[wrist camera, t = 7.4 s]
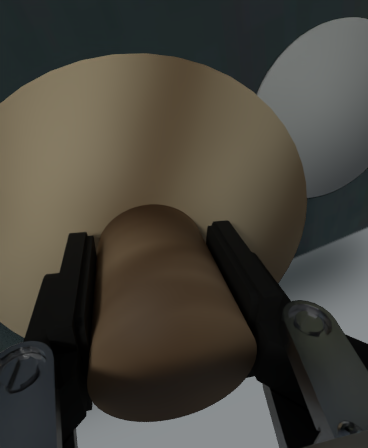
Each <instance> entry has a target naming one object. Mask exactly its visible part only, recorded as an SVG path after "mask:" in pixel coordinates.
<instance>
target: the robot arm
mask: <svg viewBox="0 0 368 448" xmlns="http://www.w3.org/2000/svg"><path fill="white" fill-rule="evenodd" d="M206 245H207V247H208V249H209V251H210V253H211V254H212V256H213V258H214V260H215V262H216V264H217V266H218V268H219V270H220V272H221V274H222V276H223V278H224V280H225V282H226V284H227V286H228V288H229V290H230V291H231V293H232V295H233V297H234V299H235V301H236V303H237V305H238V307H239V309H240V311H241V313H242V315H243V317H244V319H245V321H246V323H247V325H248V327H249V328H250V330H251V332H252V334H253V336H254V338H255V341H256V345H257V355H256V360H255V363H254V365H253V367H252V369H251V371H250V373H249V374H248V376H247V377H246V378H248V377H253V376H255V377H256V379H257V380H258V381H259V382H261V383H263V389H264V393H265V397H266V400H267V404H268V408H269V411H270V415H271V418H272V422H273V426H274V429H275V433H276V437H277V440H278V444H279V448H368V344H366V343H364V342H362V341H359V340H357V339H355V338H352V337H350V336H348V335H345V334H344V333H343V331H342V329H341V328H340V326H339V325H338V323H337V321H336V320H335V318H334V317H333V316H332V315H331V314H330V313H329V312H328V311H327V310H325V309H324V308H323V307H321V306H319V305H317V304H315V303H312V302H309V301H302V300H297V301H292V302H291V301H290V299H289V298H288V296H287V295H286V294H285V293H284V291H283V290H282V289H281V287H280V286H279V284H278V283H277V282H276V280H275V279H274V278H273V276H272V275H271V274H270V272H269V271H268V270H267V268H266V267H265V266H264V264H263V263H262V261H261V260H260V259H259V257H258V256H257V255H256V254H255V253H254V252H251V251H250V249H249V248H248V246H247V245H246V244H245V242H244V241H243V240H242V238H241V237H240V235H239V234H238V233H237V231H236V230H235V229H234V227H233V226H232V224H231V223H230V222H229V221H228V220H225V221H214V222H213V223H212V225H211V226H208V227H207V236H206ZM96 260H97V254H96V248H95V241H94V236H93V235H92V236H88V234H87V232H78V233H69V235H68V239H67V243H66V247H65V251H64V255H63V260H62V264H61V268H60V272H59V273H53V274H46V275H45V276H44V278H43V281H42V284H41V287H40V290H39V293H38V297H37V300H36V303H35V306H34V309H33V313H32V316H31V319H30V322H29V325H28V329H27V332H26V335H25V338H24V341H23V342H21V343H18V344H16V345H13V346H11V347H9V348H7V349H5V350H4V351H2V352H1V353H0V448H78V446H77V436H76V427H77V426H78V425H79V424H80V423H81V421H82V420H83V419H84V418H85V417H86V411H88V410H92V400H91V398H90V396H89V393H88V390H87V376H88V363H89V353H90V340H91V326H92V313H93V300H94V286H95V273H96Z"/></svg>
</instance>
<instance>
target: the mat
mask: <svg viewBox="0 0 368 448" xmlns="http://www.w3.org/2000/svg"><path fill="white" fill-rule="evenodd" d="M256 95H257V96H258V97H259V98H260V99H261V100H263V101H264V102H265V103H266V104H267V105H268V106H269V107H270V108H271V109H272V110H273V112H274V113H275V114H276V115H277V117H278V118H279V119H280V120H281V122H282V123H283V124H284V126H285V127H286V129H287V131H288V133H289V134H290V136H291V138H292V140H293V142H294V143H295V145H296V148H297V151H298V154H299V156H300V159H301V162H302V165H303V170H304V175H305V180H306V191H307V198H311V197H318V196H321V195H325V194H328V193H331V192H333V191H335V190H337V189H339V188H341V187H343V186H345V185H346V184H348V183H350V182H351V181H352V180H354V179H355V178H356V177H358V176H359V175H360V174H361V173H362V172H364V171H365V170H366V169H367V168H368V19H364V18H358V17H354V18H342V19H336V20H331V21H329V22H326V23H323V24H320V25H318V26H316V27H314V28H313V29H311V30H309V31H307V32H306V33H304V34H303V35H301V36H300V37H299V38H297V39H296V40H295V41H294V42H293V43H292V44H290V45H289V46H288V47H287V48H286V49H285V50H284V51H283V52H282V54H281V55H280V56H279V57H278V58H277V59H276V61H275V62H274V63H273V65H272V66H271V68H270V69H269V70H268V72H267V74H266V76H265V77H264V79H263V81H262V83H261V85H260V87H259V89H258V92H257V94H256Z"/></svg>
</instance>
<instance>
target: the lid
mask: <svg viewBox="0 0 368 448" xmlns="http://www.w3.org/2000/svg"><path fill="white" fill-rule="evenodd" d="M306 207H307V191H306V180H305V175H304V170H303V165H302V162H301V159H300V156H299V154H298V151H297V148H296V145H295V143H294V142H293V140H292V138H291V136H290V134H289V133H288V131H287V129H286V127H285V126H284V124H283V123H282V122H281V120H280V119H279V118H278V117H277V115H276V114H275V113H274V112H273V110H272V109H271V108H270V107H269V106H268V105H267V104H266V103H265V102H264V101H263V100H261V99H260V98H259V97H258V96H257V95H256V94H255V93H254V92H253V91H251V90H250V89H248V88H247V87H245V86H244V85H242V84H241V83H239V82H238V81H236V80H235V79H233V78H232V77H230V76H228V75H226V74H223V73H221V72H219V71H217V70H215V69H212V68H210V67H208V66H206V65H203V64H199V63H196V62H192V61H188V60H185V59H181V58H178V57H171V56H163V55H154V54H146V53H144V54H113V55H108V56H102V57H97V58H92V59H86V60H81V61H78V62H75V63H73V64H70V65H67V66H64V67H61V68H58V69H55V70H53V71H50V72H48V73H46V74H44V75H43V76H41V77H39V78H37V79H35V80H33V81H31V82H30V83H28V84H26V85H24V86H22V87H21V88H20V89H18V90H17V91H16V92H14V93H13V94H12V95H11V96H9V97H8V98H7V99H5V100H4V101H3V102H2V103H0V322H1V323H2V324H4V325H5V326H6V327H8V328H9V329H10V330H12V331H13V332H15V333H17V334H19V335H20V336H22V337H24V338H25V335H26V332H27V329H28V325H29V322H30V319H31V316H32V313H33V309H34V306H35V303H36V300H37V297H38V293H39V290H40V287H41V284H42V281H43V278H44V276H45V275H46V274H53V273H59V272H60V268H61V264H62V260H63V255H64V251H65V247H66V243H67V239H68V235H69V233H78V232H87V234H88V236H92V235H93V236H94V241H95V248H96V254H97V260H96V273H95V286H94V300H93V313H92V326H91V340H90V353H89V363H88V376H87V390H88V393H89V396H90V398H91V400H92V401H93V403H94V404H95V405H96V406H97V407H98V408H99V409H100V410H102V411H103V412H105V413H107V414H109V415H111V416H113V417H116V418H119V419H124V420H128V421H137V422H154V421H163V420H170V419H175V418H179V417H182V416H186V415H189V414H192V413H195V412H198V411H200V410H203V409H205V408H207V407H209V406H211V405H213V404H215V403H216V402H218V401H220V400H221V399H223V398H224V397H226V396H227V395H228V394H230V393H231V392H232V391H234V390H235V389H236V388H237V387H238V386H239V385H240V384H241V383H242V382H243V380H245V378H246V377H247V376H248V374H249V373H250V371H251V369H252V367H253V365H254V363H255V360H256V355H257V345H256V341H255V338H254V336H253V334H252V332H251V330H250V328H249V327H248V325H247V323H246V321H245V319H244V317H243V315H242V313H241V311H240V309H239V307H238V305H237V303H236V301H235V299H234V297H233V295H232V293H231V291H230V290H229V288H228V286H227V284H226V282H225V280H224V278H223V276H222V274H221V272H220V270H219V268H218V266H217V264H216V262H215V260H214V258H213V256H212V254H211V253H210V251H209V249H208V247H207V245H206V236H207V227H208V226H211V225H212V223H213V222H214V221H225V220H228V221H229V222H230V223H231V224H232V226H233V227H234V229H235V230H236V231H237V233H238V234H239V235H240V237H241V238H242V240H243V241H244V242H245V244H246V245H247V246H248V248H249V249H250V251H251V252H254V253H255V254H256V255H257V256H258V257H259V259H260V260H261V261H262V263H263V264H264V266H265V267H266V268H267V270H268V271H269V272H270V274H271V275H272V276H273V278H274V279H275V280H276V282H277V283H279V282H280V280H281V278H282V277H283V275H284V274H285V272H286V271H287V269H288V267H289V265H290V263H291V261H292V259H293V257H294V255H295V253H296V251H297V248H298V245H299V242H300V240H301V237H302V233H303V228H304V224H305V219H306Z"/></svg>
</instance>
